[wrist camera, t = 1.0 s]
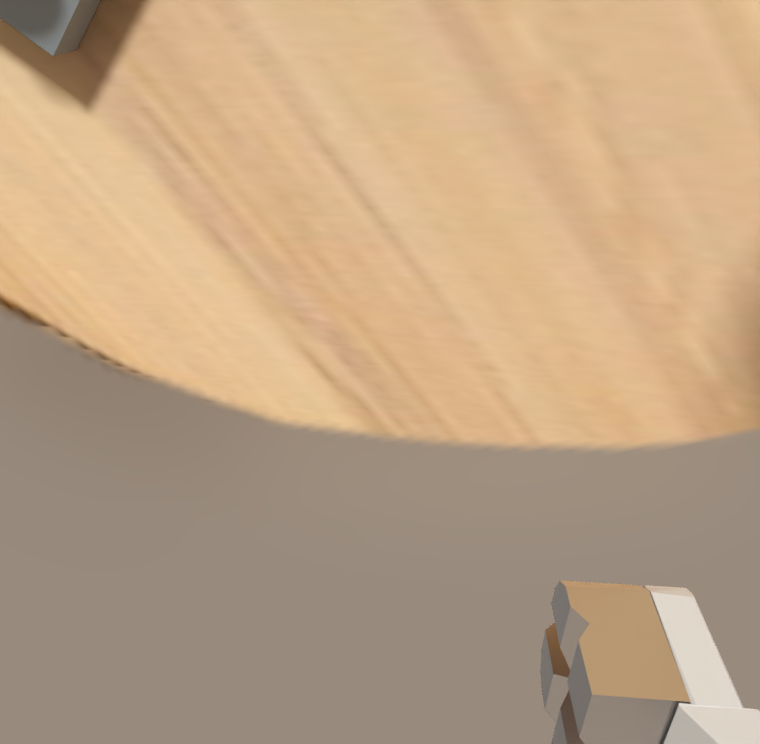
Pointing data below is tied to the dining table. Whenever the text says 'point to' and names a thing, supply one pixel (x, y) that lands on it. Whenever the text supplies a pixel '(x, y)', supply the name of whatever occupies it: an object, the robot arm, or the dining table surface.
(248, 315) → the dining table surface
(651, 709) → the robot arm
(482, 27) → the dining table surface
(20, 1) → the button board
